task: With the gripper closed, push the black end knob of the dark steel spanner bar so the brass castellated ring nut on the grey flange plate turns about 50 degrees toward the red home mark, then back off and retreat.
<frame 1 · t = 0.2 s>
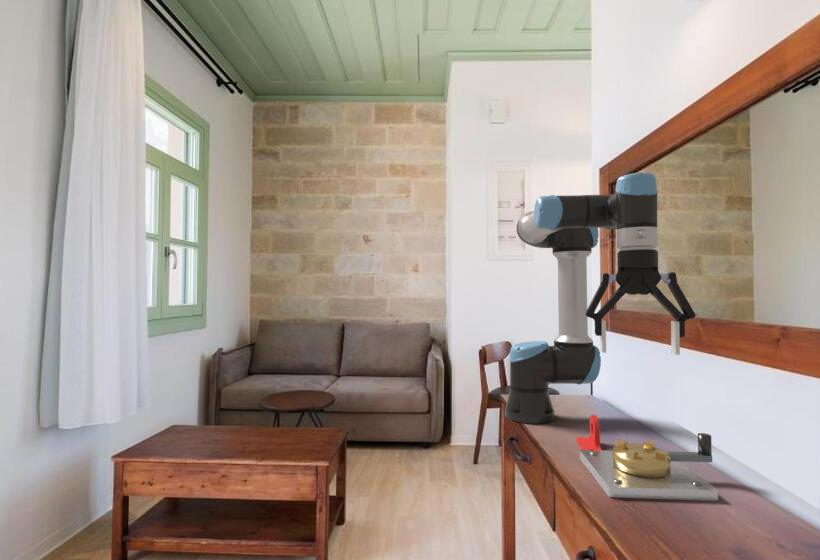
hand: (638, 352, 93), 27 cm above the table, fingers open, 13 cm apart
flange plate: (641, 477, 97), on the table
bracket: (589, 450, 114), on the table
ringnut: (662, 450, 97), point 6 cm above the table, hinge at 0.0°
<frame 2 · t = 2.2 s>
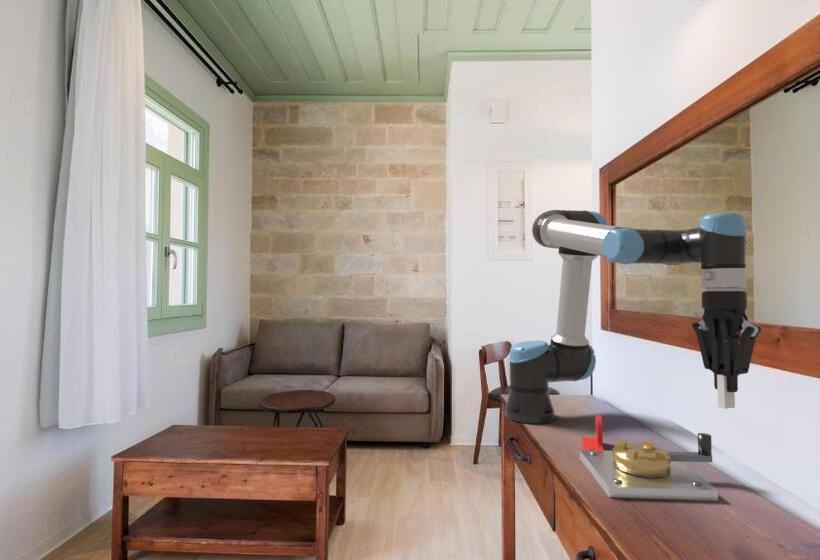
hand: (726, 407, 91), 16 cm above the table, fingers closed
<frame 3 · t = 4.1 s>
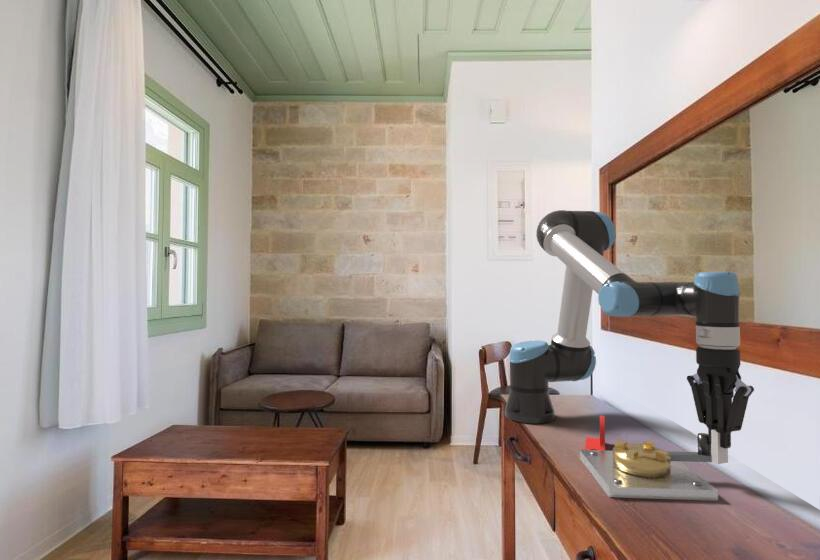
hand: (719, 461, 93), 5 cm above the table, fingers closed
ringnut: (662, 450, 97), point 6 cm above the table, hinge at 0.4°, touching gripper
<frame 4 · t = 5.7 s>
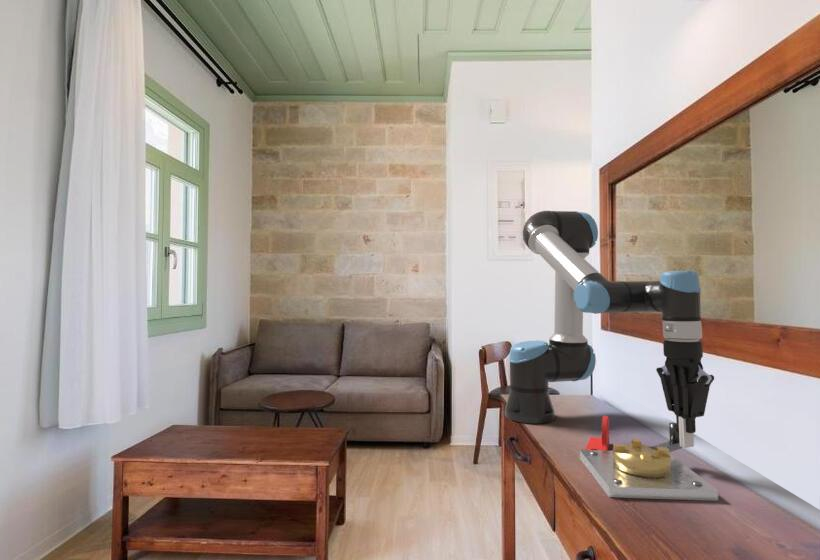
hand: (686, 446, 100), 5 cm above the table, fingers closed
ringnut: (653, 446, 99), point 6 cm above the table, hinge at 35.2°, touching gripper
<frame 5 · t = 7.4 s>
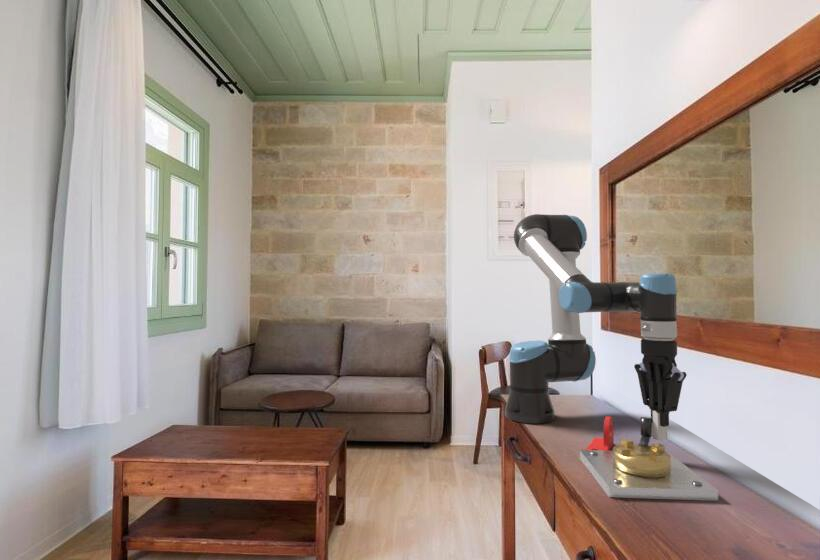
hand: (660, 438, 107), 5 cm above the table, fingers closed
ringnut: (642, 443, 101), point 6 cm above the table, hinge at 63.0°
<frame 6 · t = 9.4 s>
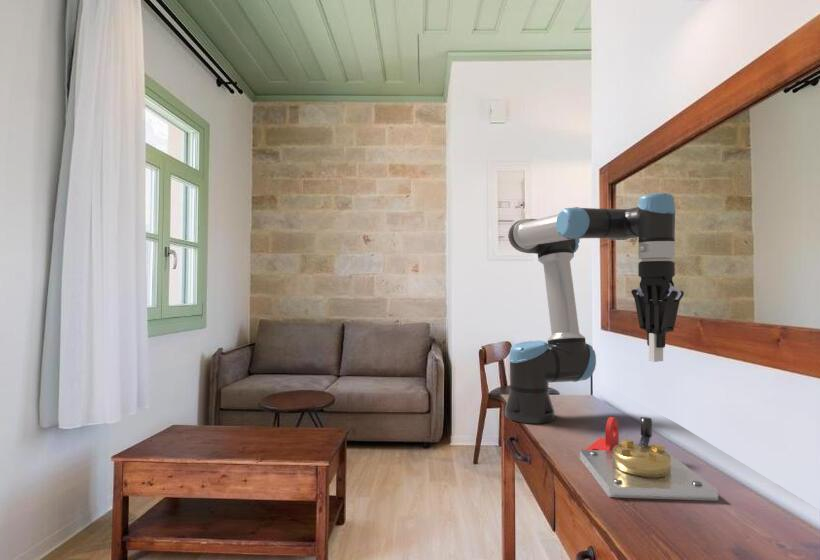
hand: (656, 360, 106), 23 cm above the table, fingers closed
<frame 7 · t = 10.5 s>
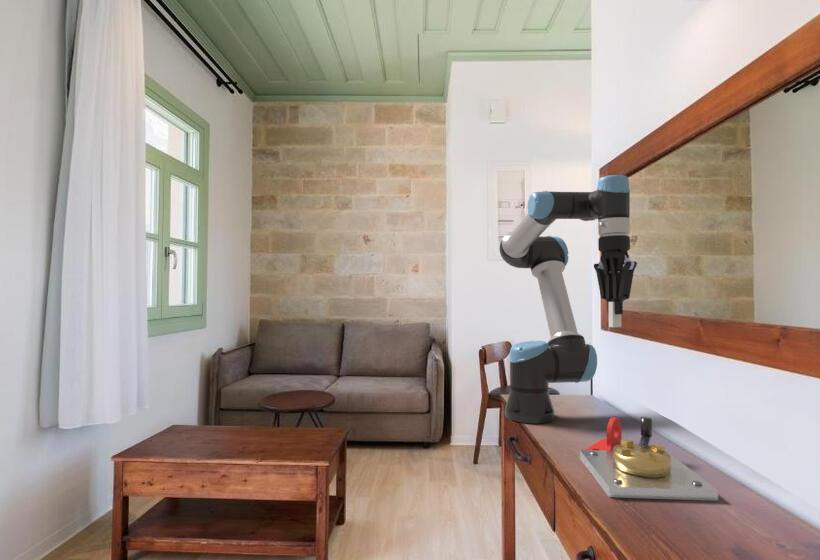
hand: (615, 326, 117), 30 cm above the table, fingers closed
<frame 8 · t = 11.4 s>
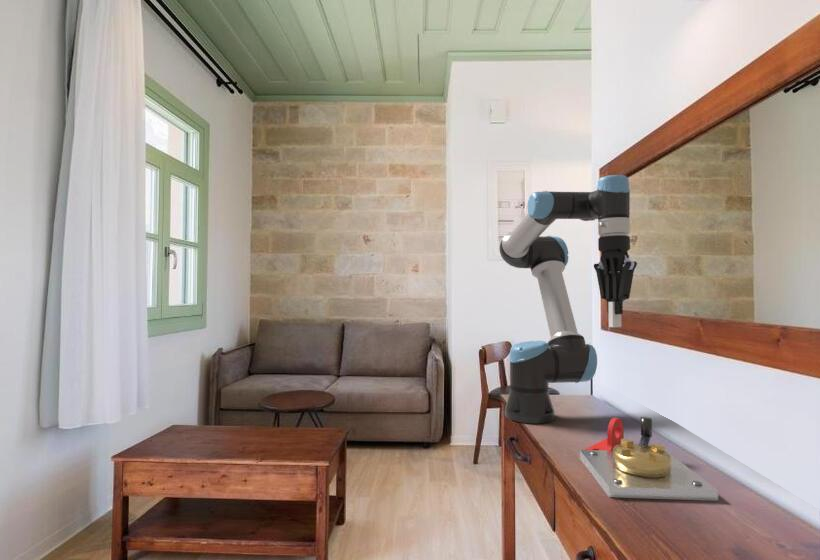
hand: (615, 326, 117), 30 cm above the table, fingers closed
at the end: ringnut at +63° (first picture: +0°); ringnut touching nothing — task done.
